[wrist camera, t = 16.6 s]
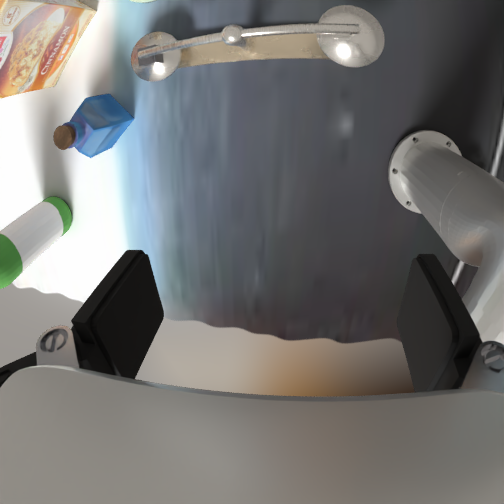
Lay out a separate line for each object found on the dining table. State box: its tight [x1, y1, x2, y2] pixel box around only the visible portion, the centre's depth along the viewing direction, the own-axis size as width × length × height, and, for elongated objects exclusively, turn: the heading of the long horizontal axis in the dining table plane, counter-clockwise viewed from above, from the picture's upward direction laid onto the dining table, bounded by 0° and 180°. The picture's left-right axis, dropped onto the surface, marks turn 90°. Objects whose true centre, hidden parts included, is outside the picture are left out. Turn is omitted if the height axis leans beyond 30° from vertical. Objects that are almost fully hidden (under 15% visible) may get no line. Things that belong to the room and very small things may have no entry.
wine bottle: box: [0, 196, 72, 289], centre depth 39 cm, size 8×8×30 cm
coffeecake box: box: [0, 0, 97, 98], centre depth 26 cm, size 15×7×20 cm, turn 140°
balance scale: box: [131, 5, 384, 81], centre depth 28 cm, size 30×7×15 cm, turn 94°
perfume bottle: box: [54, 94, 134, 158], centre depth 37 cm, size 6×6×12 cm
